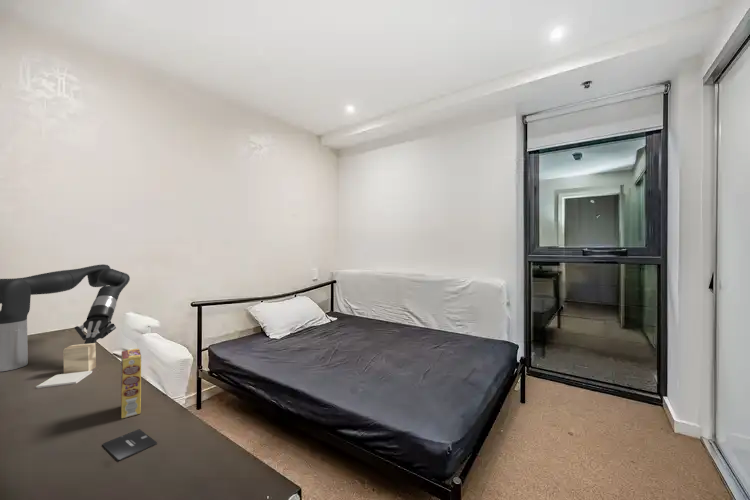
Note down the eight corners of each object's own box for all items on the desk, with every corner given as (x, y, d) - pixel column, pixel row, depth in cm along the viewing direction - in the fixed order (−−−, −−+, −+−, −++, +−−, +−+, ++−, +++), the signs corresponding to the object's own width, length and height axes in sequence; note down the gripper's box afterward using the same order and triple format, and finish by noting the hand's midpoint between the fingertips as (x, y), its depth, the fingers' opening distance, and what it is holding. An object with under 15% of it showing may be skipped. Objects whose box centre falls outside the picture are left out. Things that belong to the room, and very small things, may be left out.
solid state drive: (139, 431, 75) (139, 428, 75) (157, 445, 69) (157, 442, 69) (102, 446, 69) (101, 443, 69) (118, 463, 64) (118, 460, 64)
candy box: (142, 413, 82) (141, 355, 82) (121, 419, 80) (120, 359, 80) (140, 401, 89) (139, 347, 89) (121, 406, 87) (120, 350, 87)
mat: (56, 376, 109) (56, 374, 109) (92, 372, 112) (92, 370, 112) (36, 388, 99) (36, 386, 99) (76, 383, 102) (76, 381, 102)
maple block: (72, 369, 115) (71, 345, 115) (95, 367, 117) (95, 342, 117) (63, 374, 110) (63, 349, 110) (88, 372, 112) (88, 346, 112)
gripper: (125, 313, 133) (112, 351, 122) (86, 316, 129) (69, 355, 118) (119, 302, 128) (106, 341, 117) (78, 305, 124) (60, 345, 112)
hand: (87, 348), depth 117 cm, fingers closed
